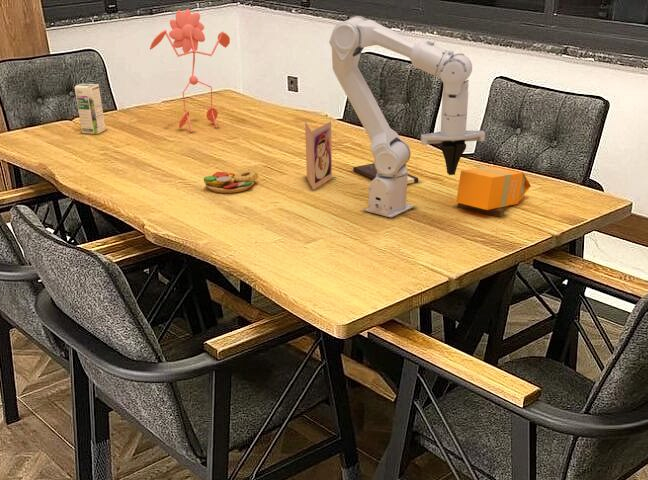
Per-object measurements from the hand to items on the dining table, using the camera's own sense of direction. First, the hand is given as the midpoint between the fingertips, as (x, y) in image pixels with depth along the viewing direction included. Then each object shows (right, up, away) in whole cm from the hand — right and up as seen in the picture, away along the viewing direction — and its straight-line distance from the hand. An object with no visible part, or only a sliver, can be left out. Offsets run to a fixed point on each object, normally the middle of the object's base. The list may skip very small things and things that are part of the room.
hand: (450, 173), depth 194 cm
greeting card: (-33, +5, +28) cm, 44 cm away
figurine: (-73, +39, +81) cm, 116 cm away
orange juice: (+6, -3, +2) cm, 7 cm away
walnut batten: (+8, -7, +8) cm, 13 cm away
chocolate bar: (-14, +8, +32) cm, 36 cm away
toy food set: (-55, +4, +26) cm, 61 cm away
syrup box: (-106, +35, +76) cm, 135 cm away
